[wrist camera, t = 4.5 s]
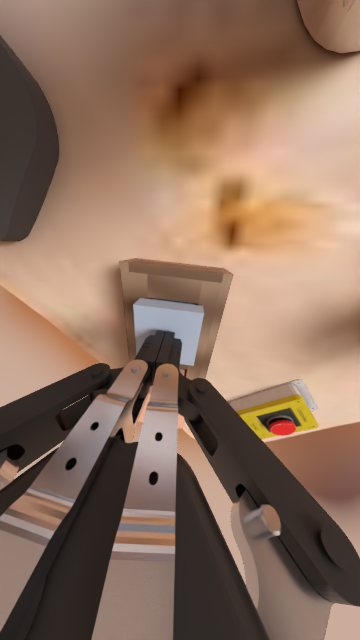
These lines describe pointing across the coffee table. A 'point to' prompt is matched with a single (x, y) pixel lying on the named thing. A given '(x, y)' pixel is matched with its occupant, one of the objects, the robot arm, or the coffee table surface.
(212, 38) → the coffee table surface
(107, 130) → the coffee table surface
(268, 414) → the emergency button
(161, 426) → the robot arm
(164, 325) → the slate-blue key
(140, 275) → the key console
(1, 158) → the media streaming box
